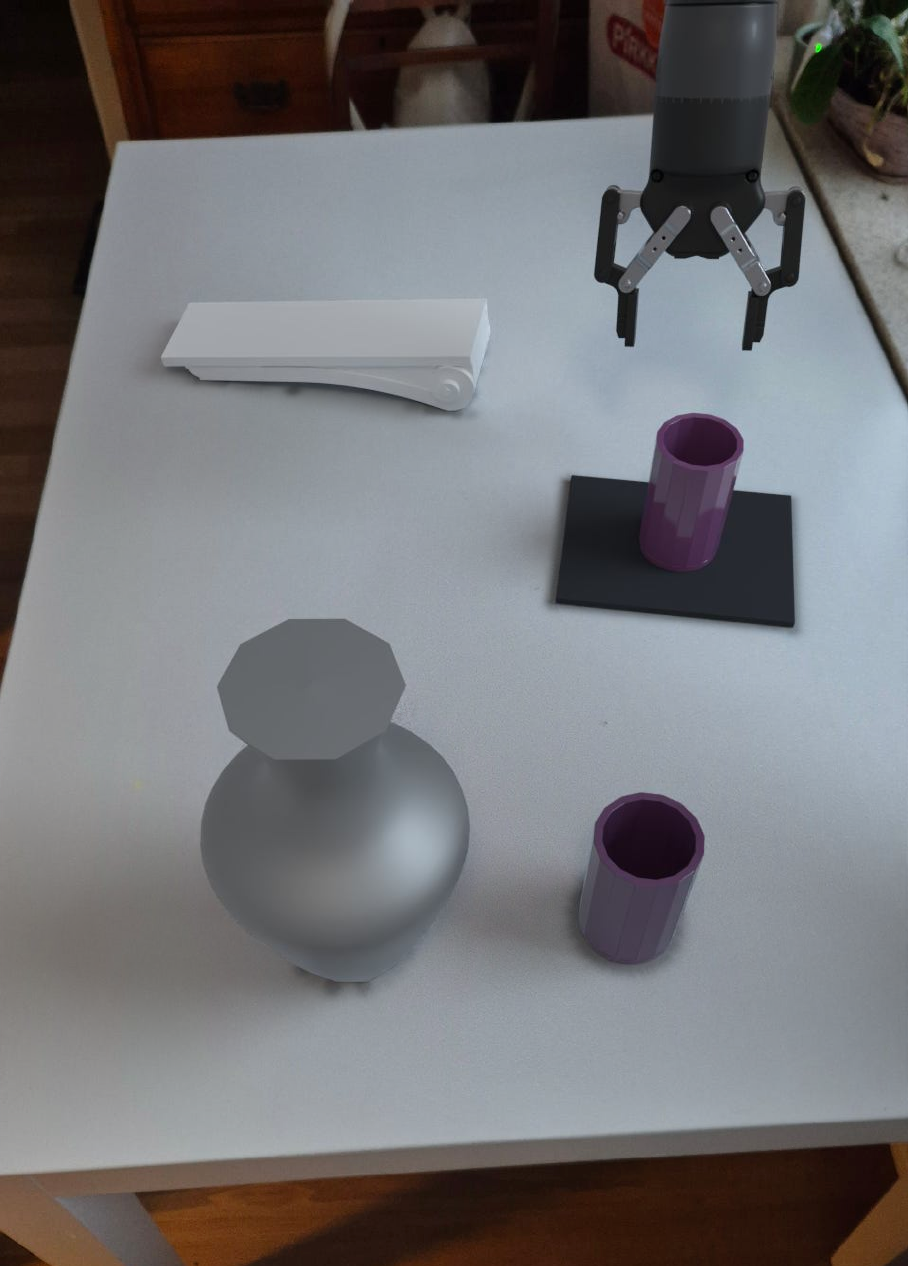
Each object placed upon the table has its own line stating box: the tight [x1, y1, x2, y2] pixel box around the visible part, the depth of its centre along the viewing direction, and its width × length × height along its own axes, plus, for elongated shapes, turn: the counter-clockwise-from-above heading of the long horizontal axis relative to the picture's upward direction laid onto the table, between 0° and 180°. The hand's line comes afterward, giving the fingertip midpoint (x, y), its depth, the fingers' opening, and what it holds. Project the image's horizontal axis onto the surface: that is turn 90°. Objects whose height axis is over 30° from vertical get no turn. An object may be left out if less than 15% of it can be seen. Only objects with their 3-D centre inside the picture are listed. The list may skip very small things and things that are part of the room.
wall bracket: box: [160, 297, 491, 412], centre depth 102 cm, size 10×7×28 cm
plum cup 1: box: [638, 412, 745, 572], centre depth 86 cm, size 6×6×10 cm
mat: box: [555, 474, 796, 628], centre depth 90 cm, size 18×14×1 cm
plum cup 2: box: [577, 791, 706, 965], centre depth 68 cm, size 6×6×10 cm
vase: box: [199, 618, 471, 983], centre depth 61 cm, size 14×14×25 cm
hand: (688, 346), depth 84 cm, fingers open, 8 cm apart
